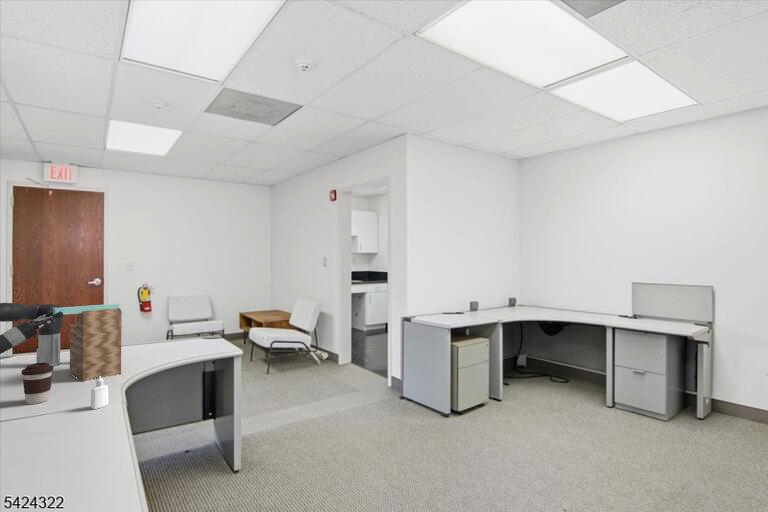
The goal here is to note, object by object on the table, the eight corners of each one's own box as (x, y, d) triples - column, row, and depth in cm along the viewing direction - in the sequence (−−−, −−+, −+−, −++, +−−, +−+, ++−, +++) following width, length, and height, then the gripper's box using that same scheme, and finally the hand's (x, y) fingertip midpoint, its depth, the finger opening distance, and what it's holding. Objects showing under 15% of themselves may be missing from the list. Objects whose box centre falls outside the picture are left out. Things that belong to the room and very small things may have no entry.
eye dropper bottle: (108, 407, 158) (109, 376, 159) (90, 410, 155) (91, 378, 155) (108, 404, 162) (108, 373, 162) (90, 407, 158) (90, 376, 159)
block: (55, 315, 187) (55, 308, 187) (52, 314, 189) (52, 308, 189) (119, 310, 207) (119, 304, 207) (116, 309, 210) (116, 303, 210)
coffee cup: (24, 407, 158) (25, 368, 158) (18, 402, 164) (18, 365, 164) (56, 400, 166) (56, 363, 166) (49, 395, 172) (49, 360, 172)
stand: (83, 381, 192) (83, 311, 193) (69, 374, 205) (70, 308, 205) (121, 374, 205) (121, 308, 205) (106, 367, 217) (106, 305, 218)
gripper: (18, 328, 173) (59, 306, 184) (10, 325, 181) (50, 304, 192) (29, 342, 175) (69, 320, 187) (21, 338, 184) (60, 317, 195)
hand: (59, 312), depth 190 cm, fingers open, 8 cm apart
